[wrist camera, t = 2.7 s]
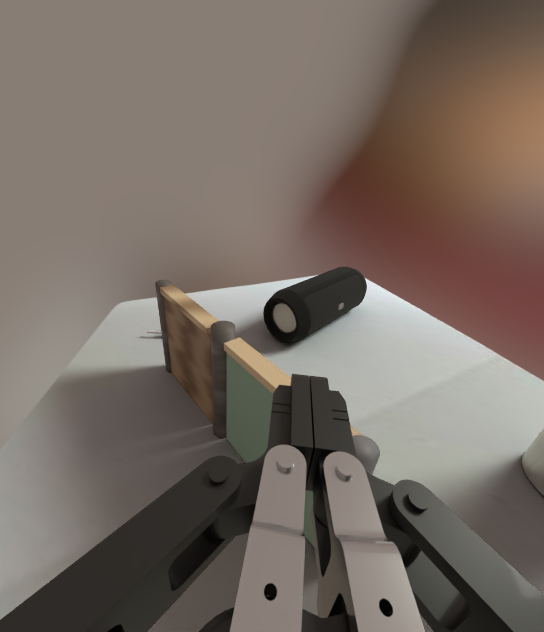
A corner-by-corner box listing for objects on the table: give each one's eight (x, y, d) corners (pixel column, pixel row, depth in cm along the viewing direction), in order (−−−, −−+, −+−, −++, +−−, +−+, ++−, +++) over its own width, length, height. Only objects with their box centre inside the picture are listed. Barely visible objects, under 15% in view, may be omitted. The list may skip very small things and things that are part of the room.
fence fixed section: (162, 367, 45) (150, 277, 38) (177, 362, 47) (168, 274, 40) (220, 441, 35) (218, 336, 27) (237, 431, 36) (239, 328, 29)
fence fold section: (223, 440, 34) (223, 342, 28) (237, 431, 35) (240, 336, 29) (328, 573, 24) (368, 468, 17) (343, 554, 25) (385, 450, 18)
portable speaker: (298, 355, 51) (305, 305, 46) (258, 332, 57) (261, 285, 52) (364, 311, 68) (375, 271, 63) (328, 297, 74) (336, 259, 69)
